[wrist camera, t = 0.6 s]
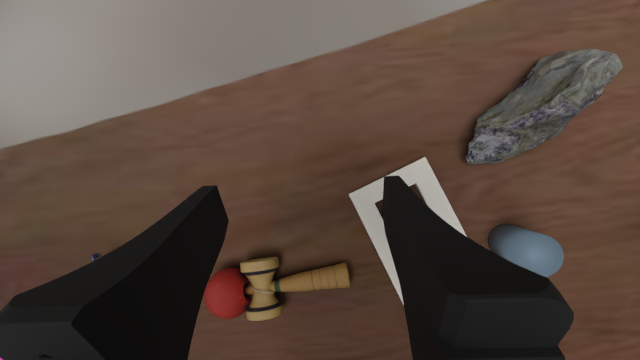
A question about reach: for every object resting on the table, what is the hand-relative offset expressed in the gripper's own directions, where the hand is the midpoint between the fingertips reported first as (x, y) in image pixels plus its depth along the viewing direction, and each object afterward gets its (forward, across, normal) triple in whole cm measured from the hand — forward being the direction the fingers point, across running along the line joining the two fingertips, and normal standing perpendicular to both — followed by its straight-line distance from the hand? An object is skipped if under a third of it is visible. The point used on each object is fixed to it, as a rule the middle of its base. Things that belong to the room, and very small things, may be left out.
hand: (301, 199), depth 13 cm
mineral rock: (+24, -22, +8) cm, 33 cm away
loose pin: (+15, -21, +20) cm, 32 cm away
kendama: (+15, +6, +25) cm, 30 cm away
